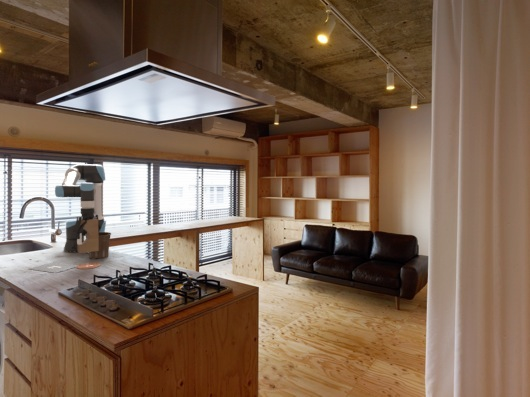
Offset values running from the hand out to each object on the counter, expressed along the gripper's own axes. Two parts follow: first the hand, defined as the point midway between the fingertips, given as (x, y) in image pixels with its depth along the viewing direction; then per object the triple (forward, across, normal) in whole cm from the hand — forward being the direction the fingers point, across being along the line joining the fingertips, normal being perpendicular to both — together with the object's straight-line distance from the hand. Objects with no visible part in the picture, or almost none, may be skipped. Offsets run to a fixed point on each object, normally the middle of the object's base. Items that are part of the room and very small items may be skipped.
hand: (88, 242), depth 204 cm
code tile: (+15, +10, -16) cm, 24 cm away
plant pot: (+15, -21, -13) cm, 29 cm away
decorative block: (+6, 0, 0) cm, 6 cm away
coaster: (+15, 0, 0) cm, 15 cm away
